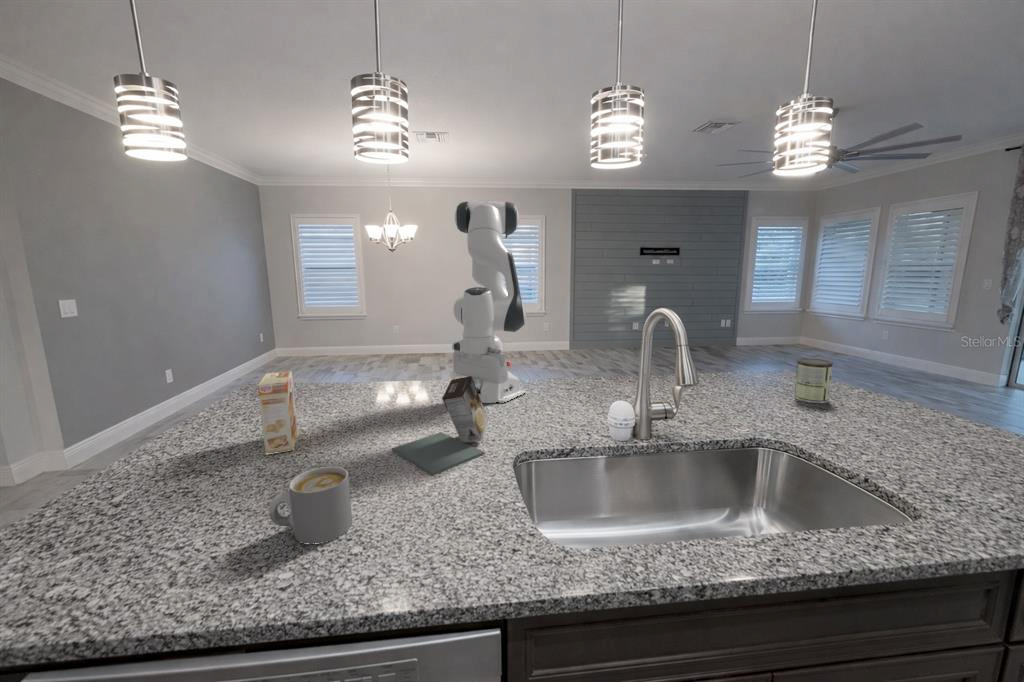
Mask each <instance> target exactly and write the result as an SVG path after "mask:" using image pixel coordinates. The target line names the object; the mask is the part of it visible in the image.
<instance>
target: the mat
mask: <svg viewBox="0 0 1024 682" xmlns="http://www.w3.org/2000/svg"><path fill="white" fill-rule="evenodd" d="M391 451H392V452H393V453H395V454H396V455H399V456H400V457H402V458H403V459H405V460H407V461H409V462H411V463H412V464H413V465H416V466H417V467H419V468H420V469H421V470H424V471H426V472H427V473H429V474H430V475H431V476H434V475H437V474H439V473H441V472H444V471H446V470H449V469H451V468H454V467H457V466H459V465H461V464H464V463H466V462H469V461H472V460H473V459H475V458H478V457H481V456H483V455H485V451H484V450H481V449H479V448H476V447H474V446H473V445H470V444H468V443H464V442H461V440H459V439H457V438H455V437H453V436H451V435H448V434H446V433H444V432H442V431H441V432H437V433H435V434H434V433H433V434H432V435H431V434H430V435H429V436H425V437H422V438H419V439H417V440H413V441H409V442H407V443H403V444H401V445H398V446H395V447H391Z"/></svg>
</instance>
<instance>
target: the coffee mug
mask: <svg viewBox="0 0 1024 682" xmlns="http://www.w3.org/2000/svg"><path fill="white" fill-rule="evenodd" d="M288 489H289V491H286V492H282V493H280V494H278V495H275V496H274V497H273V498H272V499H271V501H270V503H269V507H268V508H269V509H268V511H269V512H268V513H269V518H270V520H271V522H273V524H275V525H276V526H279V527H280V526H281V527H288V528H291V529H292V530H293V533H294V534H293V536H294V539H295V541H296V540H297V541H299V542H302V543H309V544H313V543H314V544H315V543H321V542H326V541H330V540H333V539H335V538H337V537H339V536H341V535H342V534H344V533H345V532H346V531H347V530H348V529H349V528H350V527H352V526H353V517H352V515H353V514H352V504H351V503H352V502H351V493H350V481H349V472H348V470H346V469H345V468H343V467H339V466H323V467H317V468H312V469H310V470H307V471H304V472H302V473H300V474H298V475H297V476H294V477H293V479H291V480H290V482H289V485H288ZM281 504H287V505H288V507H289V510H290V512H289V514H288V515H286V516H282V515H280V513H279V512H278V508H279V506H280V505H281ZM351 525H352V526H351ZM350 529H351V528H350ZM350 529H349V530H350ZM349 530H348V531H349ZM348 531H347V532H348ZM347 532H346V533H347ZM346 533H345V534H346ZM345 534H344V535H345ZM342 536H343V535H342ZM342 536H341V537H342ZM339 538H340V537H339ZM337 539H338V538H337ZM335 540H336V539H335ZM297 541H296V542H297ZM333 541H334V540H333ZM299 542H298V543H299ZM330 542H331V541H330Z"/></svg>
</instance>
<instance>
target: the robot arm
mask: <svg viewBox="0 0 1024 682" xmlns="http://www.w3.org/2000/svg"><path fill="white" fill-rule="evenodd" d="M454 223H455V226H456V227H457V228H456V229H457V230H458V231H460V232H461V233H464V234H467V240H466V241H467V251H468V254H469V255H470V257H471V258H472V262H471V263H472V264H471V276H472V279H473V280H474V282H475V283H477V284H478V285H480V287H477V286H476V287H470V288H469V287H468V288H467V289H465V290H464V292H463V295H462V296H461V297H459V298H457V300H456V301H455V302H454V304H453V310H452V311H453V316H454V318H455V319H456V321H458V323H459V324H461V325H462V327H463V332H462V339H460V340H458V341H455V342H453V343H452V344H451V347H452V350H453V353H452V366H453V371H454V374H456V375H460V376H462V377H463V376H464V377H470V376H472V379H473V382H474V384H475V387H476V389H477V392H478V395H479V397H480V400H481V402H482V404H495V403H496V402H499V404H505V403H504V402H506V403H508V402H507V401H509V400H511V399H513V398H515V397H517V396H519V395H521V394H523V393H525V392H526V393H527V391H526V390H525V389H524V388H521V384H520V380H519V378H518V377H517V376H516V375H514V374H513V373H512V372H510V371H508V367H509V368H510V367H511V366H512V362H511V361H510V360H507V359H506V355H505V353H504V352H503V343H502V339H500V337H499V336H497V335H495V332H512V333H516V332H517V331H519V330H520V329H522V328H523V327H524V326H525V322H526V317H527V314H526V309H525V306H524V305H525V304H524V302H523V300H522V296H521V289H520V285H519V284H520V283H519V277H518V273H517V267H516V263H515V260H514V255H513V253H512V251H511V250H509V249H507V247H506V246H505V244H504V242H503V235H504V234H505V239H508V236H510V235H512V234H514V232H515V231H517V228H518V226H519V223H520V214H519V210H518V207H517V205H516V204H515V203H513V202H509V201H506V202H503V201H495V200H487V201H484V200H483V201H482V200H481V201H480V200H479V201H462V202H460V203H459V204H458V205H457V206H456V209H455V212H454ZM481 286H482V287H481ZM515 399H516V398H515ZM513 400H514V399H513ZM511 401H512V400H511ZM509 402H510V401H509ZM496 404H497V403H496Z"/></svg>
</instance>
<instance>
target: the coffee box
mask: <svg viewBox="0 0 1024 682" xmlns="http://www.w3.org/2000/svg"><path fill="white" fill-rule="evenodd" d="M442 402H443V403H444V405H445V408H446V411H447V412H448V414H449V416H450V419H451V422H452V424H453V427H454V428H455V430H456V433H457V435H458V438H459V439H460V440H459V441H461V442H464V443H466V444H468V443H473V442H482V441H483V438H484V435H485V432H486V428H487V425H488V423H489V417H488V416H487V413H486V409H485V407H484V405H483V403H482V402H481V400H480V397H479V395H478V392H477V389H476V387H475V384H474V382H473V379H472V376H470V377H467V376H464V377H458V378H454V379H451V380H450V381H449V384H448V386H447V388H446V389H445V393H444V395H443V396H442Z"/></svg>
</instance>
